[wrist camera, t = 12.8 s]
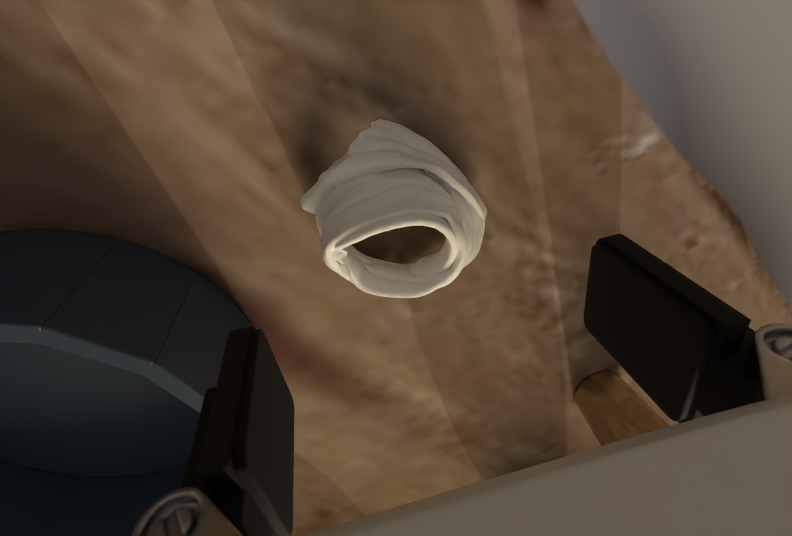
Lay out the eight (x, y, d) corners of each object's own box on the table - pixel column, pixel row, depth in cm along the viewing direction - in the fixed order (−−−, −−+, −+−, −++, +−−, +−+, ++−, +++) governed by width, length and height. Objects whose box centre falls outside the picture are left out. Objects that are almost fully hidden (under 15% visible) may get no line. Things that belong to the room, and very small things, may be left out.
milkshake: (572, 428, 29) (679, 593, 21) (558, 382, 26) (674, 552, 18) (633, 402, 29) (766, 559, 20) (625, 353, 26) (775, 512, 18)
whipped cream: (495, 190, 20) (558, 229, 16) (416, 299, 21) (453, 360, 17) (357, 89, 16) (392, 106, 12) (273, 232, 18) (278, 290, 13)
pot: (32, 505, 24) (-43, 634, 19) (-233, 281, 15) (-495, 405, 10) (303, 436, 25) (301, 540, 20) (192, 190, 16) (140, 264, 11)
